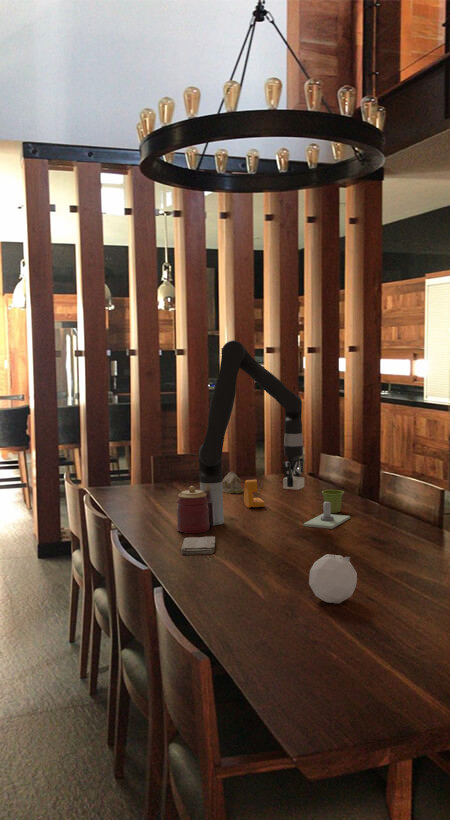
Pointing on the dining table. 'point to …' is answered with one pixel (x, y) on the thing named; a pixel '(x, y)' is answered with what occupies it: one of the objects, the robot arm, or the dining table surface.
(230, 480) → the ceramic model
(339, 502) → the plant pot
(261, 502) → the bracket
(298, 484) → the white hollow square block
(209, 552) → the washcloth
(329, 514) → the stand
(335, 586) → the geodesic sphere
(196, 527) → the canister
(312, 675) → the dining table surface
